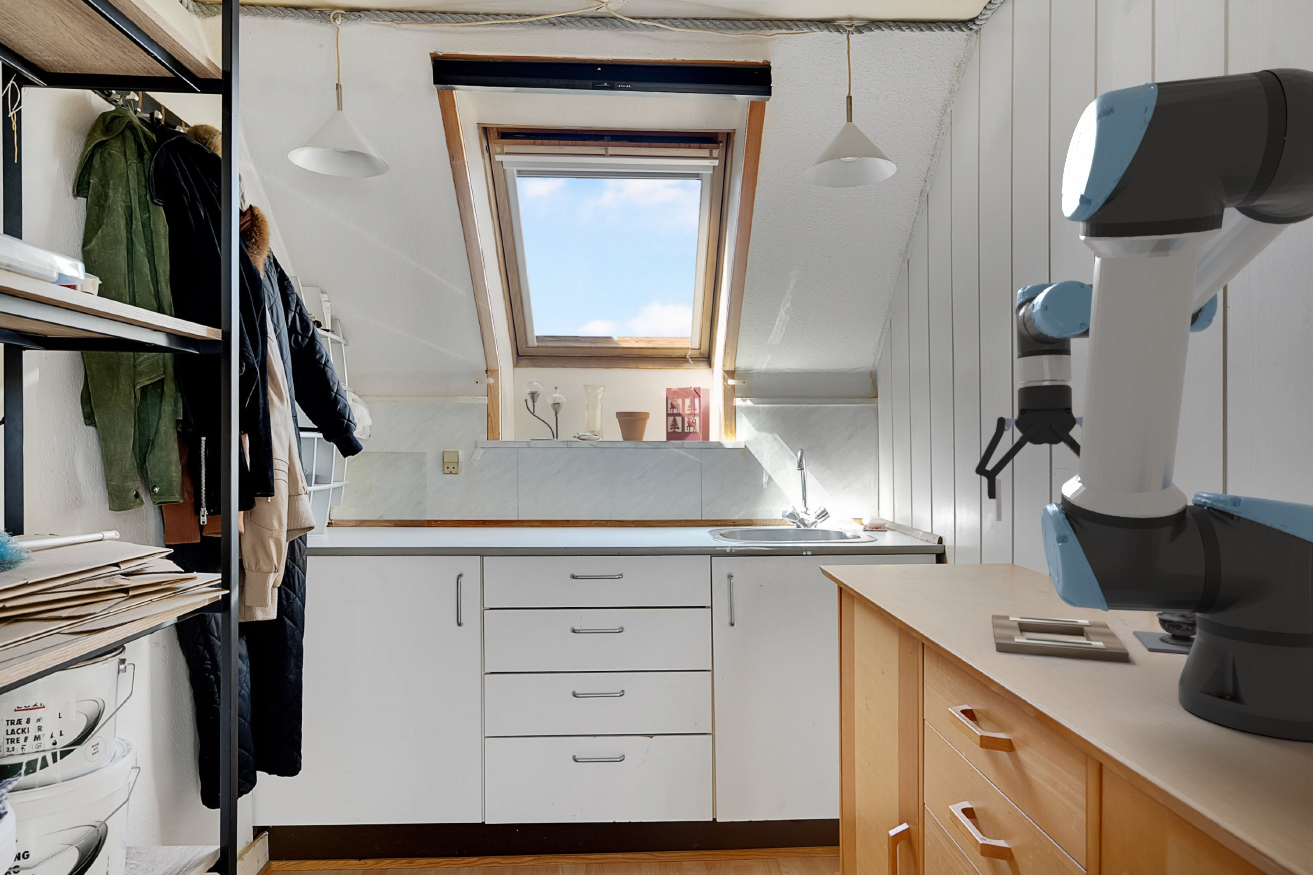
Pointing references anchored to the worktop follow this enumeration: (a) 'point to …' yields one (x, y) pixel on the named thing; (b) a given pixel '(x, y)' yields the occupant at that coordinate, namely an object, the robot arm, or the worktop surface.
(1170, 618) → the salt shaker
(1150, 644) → the rubber mat
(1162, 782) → the worktop surface
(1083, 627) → the label board
